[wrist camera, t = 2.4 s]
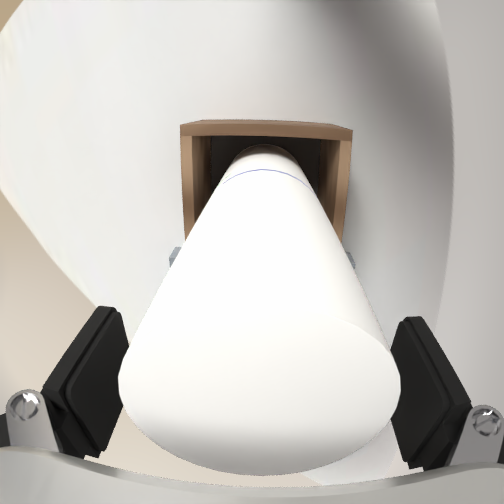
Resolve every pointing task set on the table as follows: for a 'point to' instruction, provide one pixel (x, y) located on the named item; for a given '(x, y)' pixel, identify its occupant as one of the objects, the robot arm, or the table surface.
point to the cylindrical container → (260, 334)
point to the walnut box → (199, 135)
